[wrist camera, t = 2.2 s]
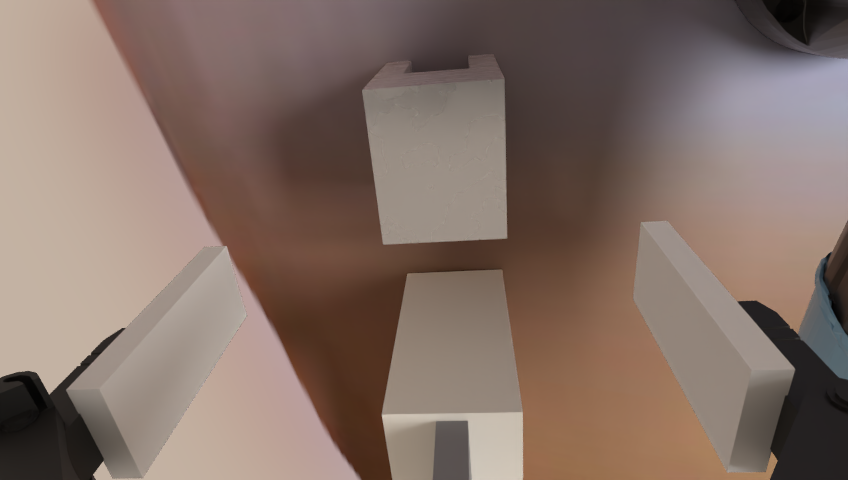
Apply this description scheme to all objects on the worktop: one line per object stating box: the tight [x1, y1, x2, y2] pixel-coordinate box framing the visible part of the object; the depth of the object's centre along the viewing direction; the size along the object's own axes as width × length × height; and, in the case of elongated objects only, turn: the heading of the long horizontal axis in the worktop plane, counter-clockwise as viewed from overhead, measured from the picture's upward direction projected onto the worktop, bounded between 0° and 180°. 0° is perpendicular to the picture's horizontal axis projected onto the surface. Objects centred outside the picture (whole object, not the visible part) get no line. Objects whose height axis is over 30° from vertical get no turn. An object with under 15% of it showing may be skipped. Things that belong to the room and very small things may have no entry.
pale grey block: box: [362, 54, 507, 245], centre depth 29 cm, size 8×6×9 cm
